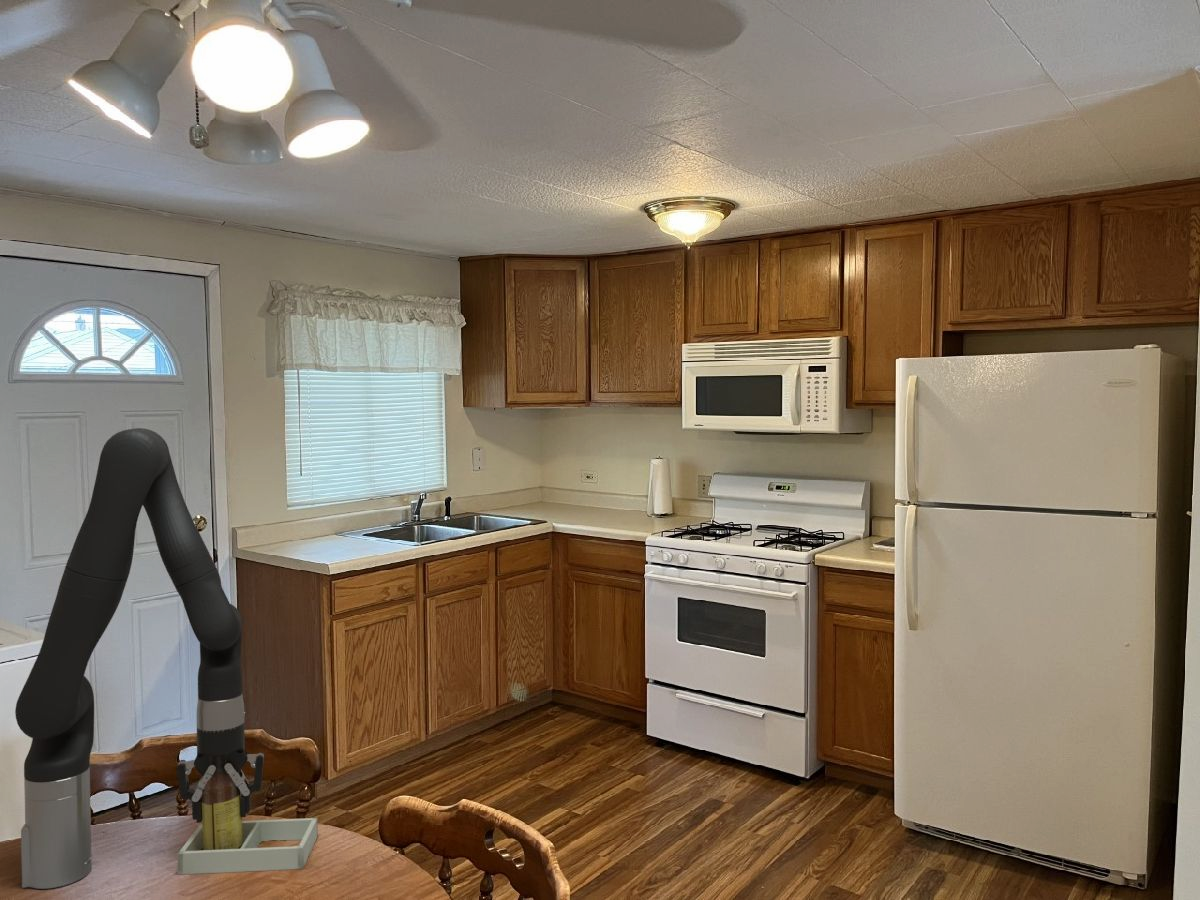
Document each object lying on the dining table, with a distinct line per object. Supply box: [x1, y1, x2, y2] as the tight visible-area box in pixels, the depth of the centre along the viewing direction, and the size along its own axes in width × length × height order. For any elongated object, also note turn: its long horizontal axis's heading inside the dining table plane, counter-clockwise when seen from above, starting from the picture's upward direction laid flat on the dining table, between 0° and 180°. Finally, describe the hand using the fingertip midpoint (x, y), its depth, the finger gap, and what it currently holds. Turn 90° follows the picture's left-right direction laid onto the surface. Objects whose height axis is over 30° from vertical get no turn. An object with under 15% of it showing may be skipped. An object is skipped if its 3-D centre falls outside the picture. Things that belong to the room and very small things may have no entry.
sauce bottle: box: [201, 755, 244, 850], centre depth 155 cm, size 7×6×20 cm
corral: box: [177, 817, 319, 876], centre depth 156 cm, size 20×12×4 cm, turn 96°
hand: (222, 817), depth 155 cm, fingers open, 6 cm apart
